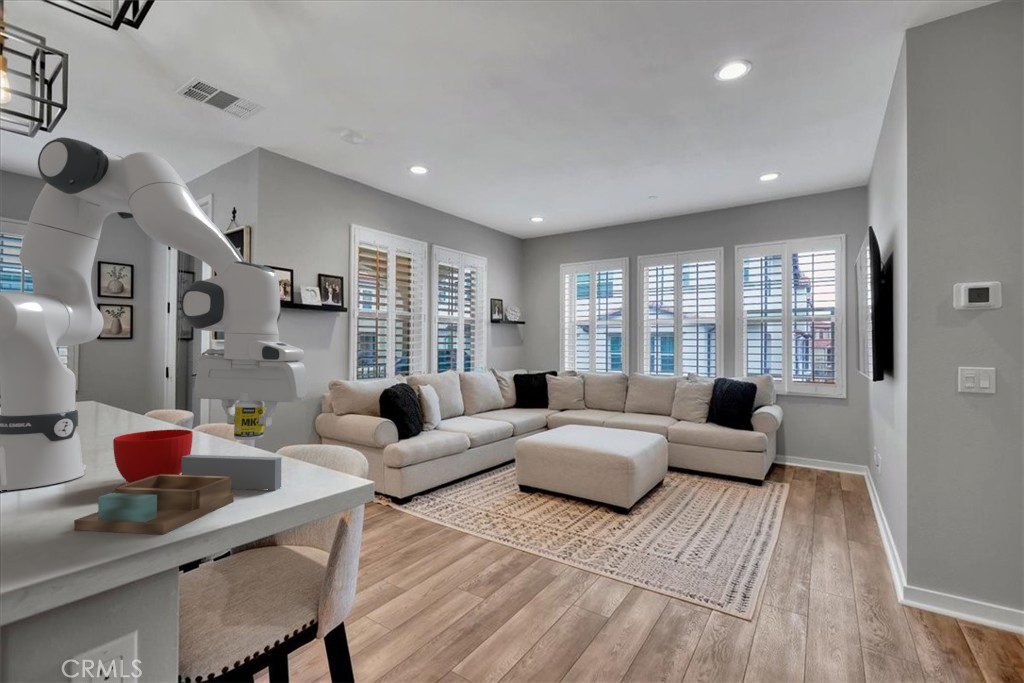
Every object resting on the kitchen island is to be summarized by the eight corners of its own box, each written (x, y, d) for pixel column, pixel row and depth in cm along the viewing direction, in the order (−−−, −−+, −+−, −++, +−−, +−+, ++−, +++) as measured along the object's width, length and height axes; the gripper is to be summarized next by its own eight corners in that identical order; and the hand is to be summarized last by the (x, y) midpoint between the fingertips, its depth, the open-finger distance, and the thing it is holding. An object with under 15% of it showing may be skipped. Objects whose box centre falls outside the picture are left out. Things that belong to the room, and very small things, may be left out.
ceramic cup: (175, 469, 108) (175, 425, 108) (201, 482, 97) (201, 434, 97) (101, 481, 98) (102, 433, 98) (121, 498, 87) (122, 444, 87)
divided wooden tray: (74, 529, 72) (74, 497, 72) (158, 498, 87) (158, 471, 87) (163, 534, 70) (163, 500, 70) (233, 501, 85) (233, 474, 85)
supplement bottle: (238, 441, 83) (240, 394, 83) (230, 437, 86) (231, 391, 86) (267, 438, 87) (269, 392, 87) (258, 434, 90) (259, 390, 90)
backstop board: (181, 486, 94) (181, 456, 94) (189, 484, 96) (189, 454, 96) (275, 490, 92) (275, 459, 92) (281, 487, 94) (281, 457, 94)
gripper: (186, 348, 85) (184, 425, 84) (293, 351, 82) (290, 430, 82) (212, 348, 91) (210, 419, 91) (312, 351, 89) (310, 424, 88)
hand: (249, 424), depth 86 cm, fingers closed on supplement bottle, 5 cm apart
